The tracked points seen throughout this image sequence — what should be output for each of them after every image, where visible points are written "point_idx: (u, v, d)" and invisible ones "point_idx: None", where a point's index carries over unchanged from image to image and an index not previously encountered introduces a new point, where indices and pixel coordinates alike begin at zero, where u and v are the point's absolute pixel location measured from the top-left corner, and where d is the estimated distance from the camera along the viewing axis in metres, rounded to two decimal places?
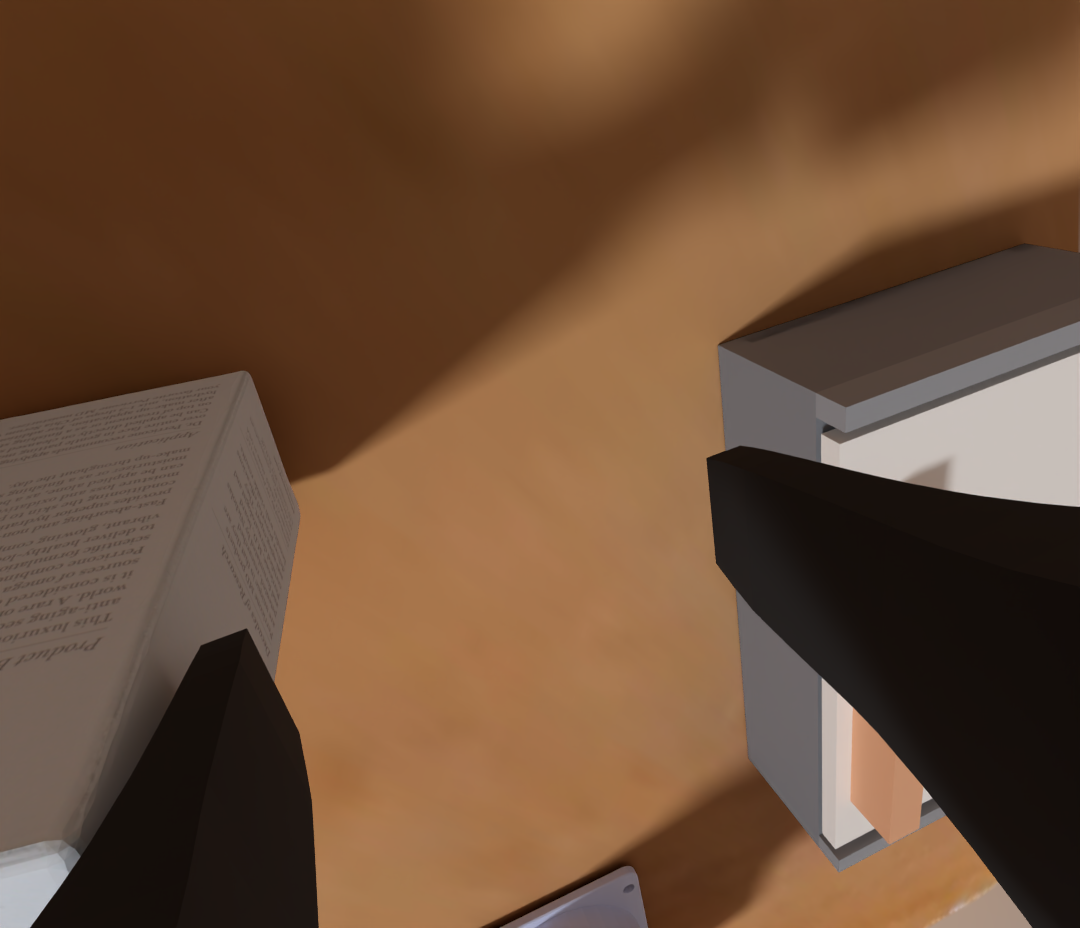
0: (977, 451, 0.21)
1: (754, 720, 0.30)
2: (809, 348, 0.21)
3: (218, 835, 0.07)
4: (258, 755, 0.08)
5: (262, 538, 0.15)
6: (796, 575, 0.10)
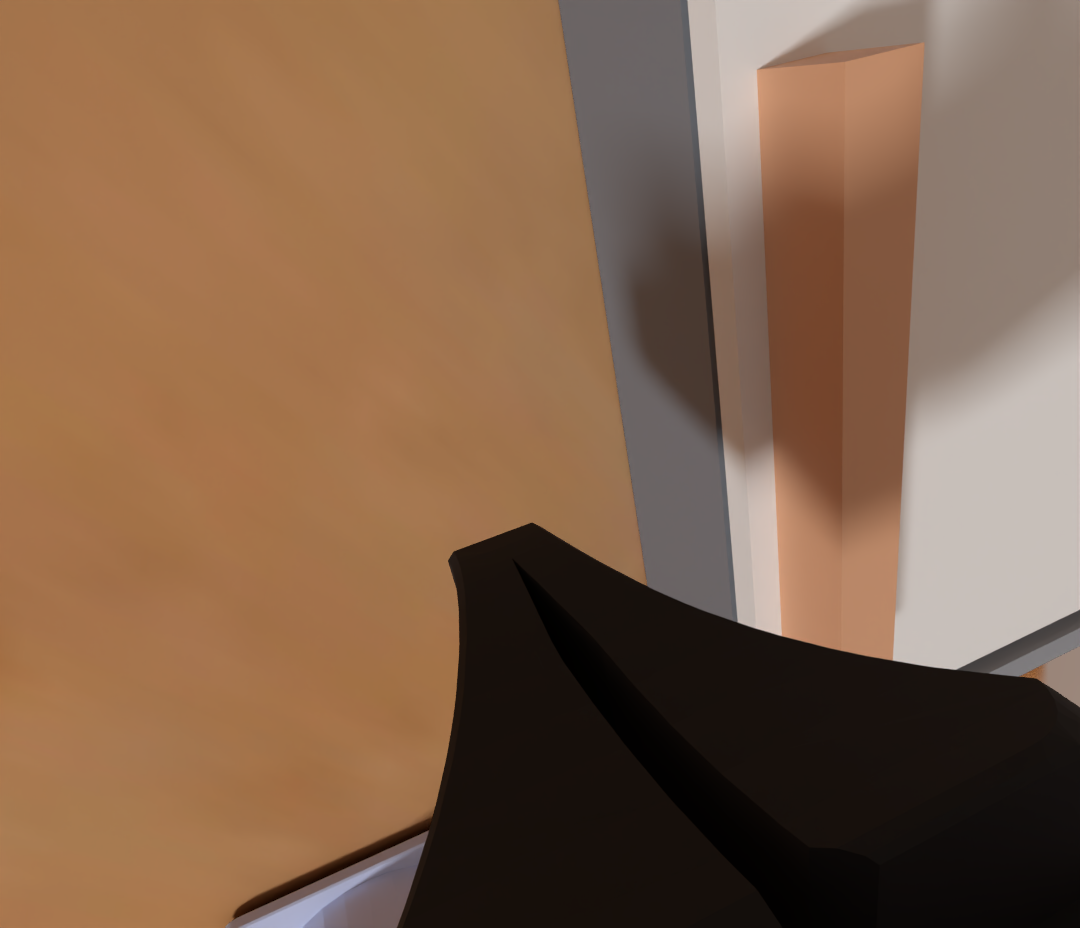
0: None
1: (657, 588, 0.20)
2: None
3: None
4: None
5: None
6: None
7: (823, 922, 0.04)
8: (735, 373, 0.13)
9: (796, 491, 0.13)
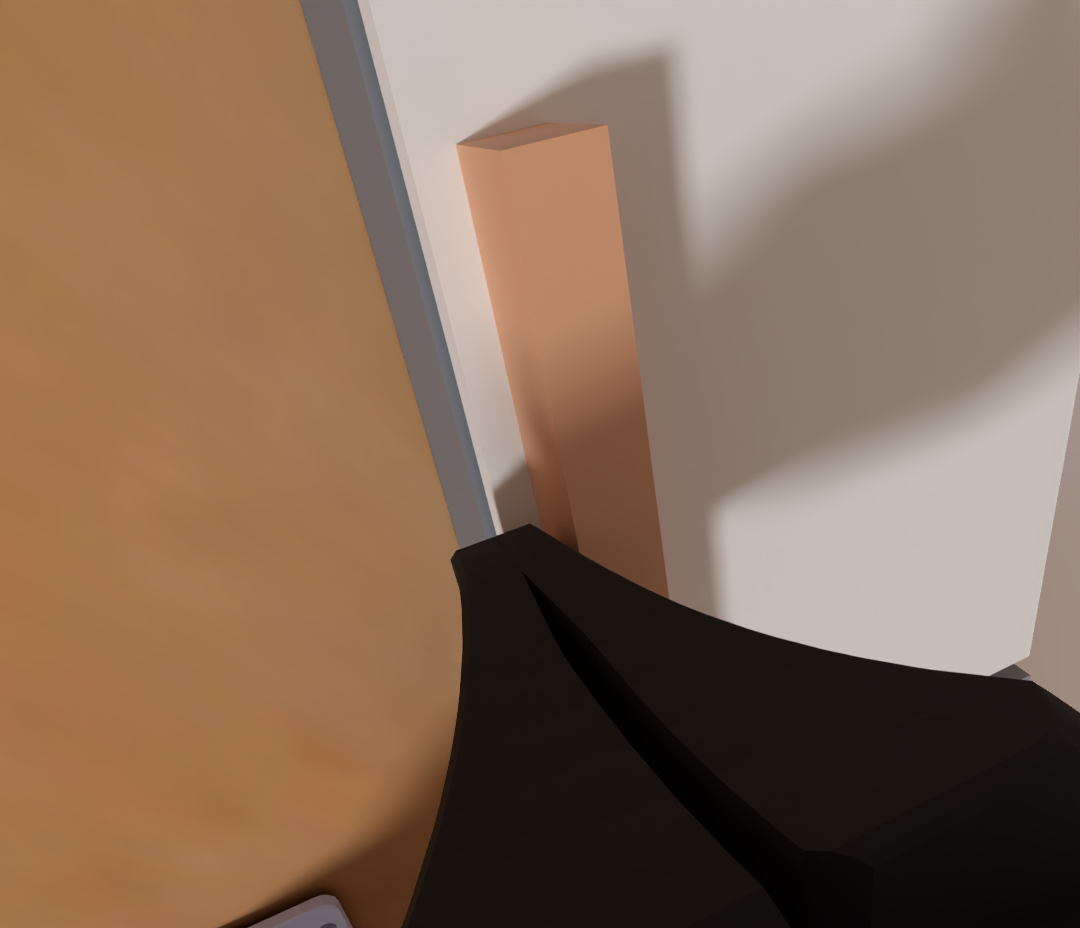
0: (737, 42, 0.10)
1: None
2: None
3: None
4: None
5: None
6: None
7: (818, 925, 0.04)
8: (488, 474, 0.11)
9: None
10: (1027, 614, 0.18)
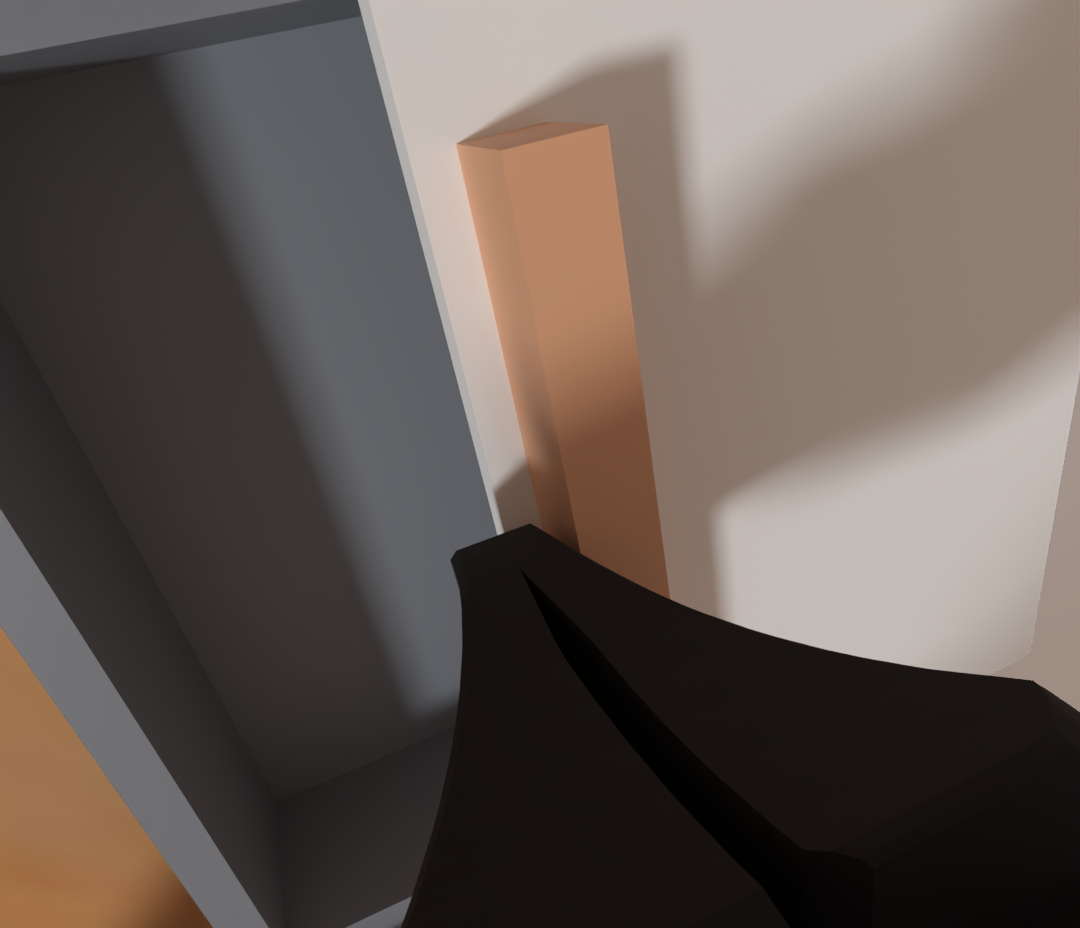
0: (737, 42, 0.10)
1: None
2: None
3: None
4: None
5: None
6: None
7: (819, 925, 0.04)
8: (489, 474, 0.11)
9: None
10: (1027, 614, 0.18)
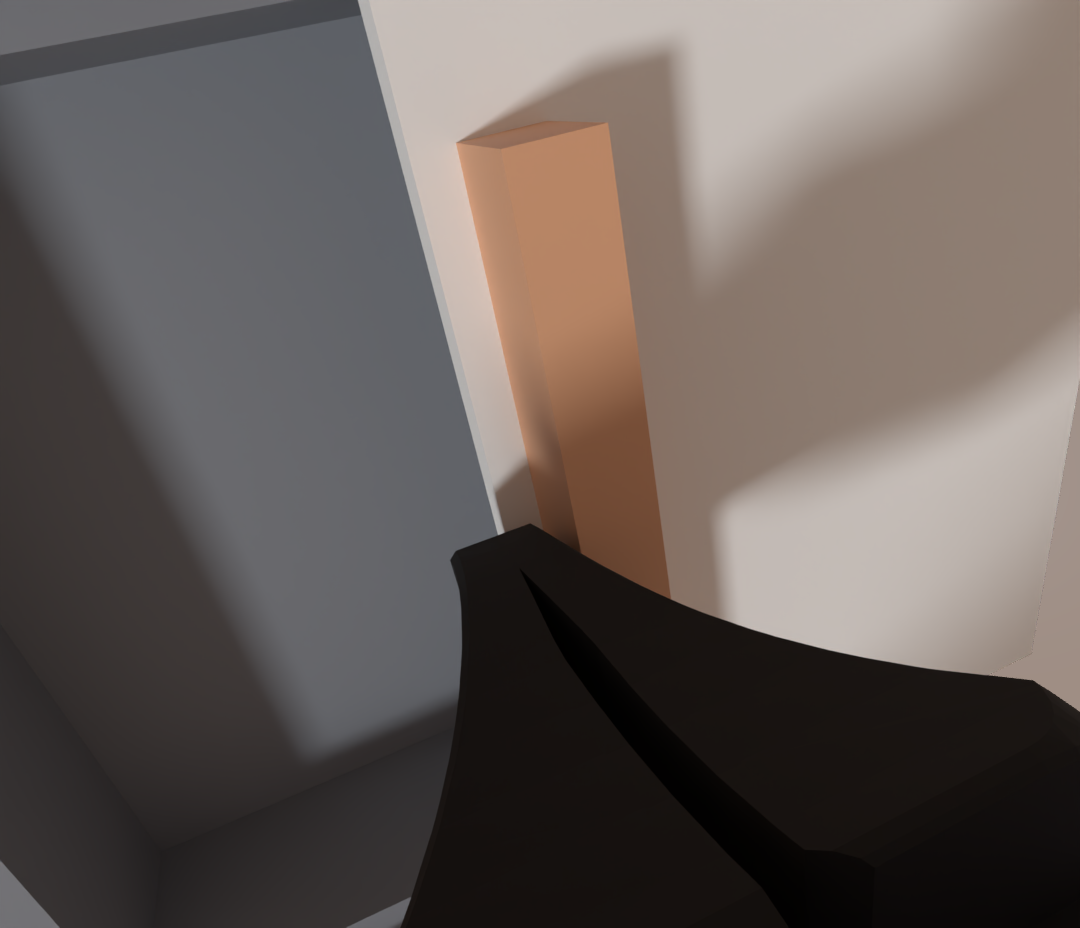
0: (738, 40, 0.10)
1: None
2: None
3: None
4: None
5: None
6: None
7: (818, 923, 0.04)
8: (489, 473, 0.11)
9: None
10: (1028, 612, 0.18)
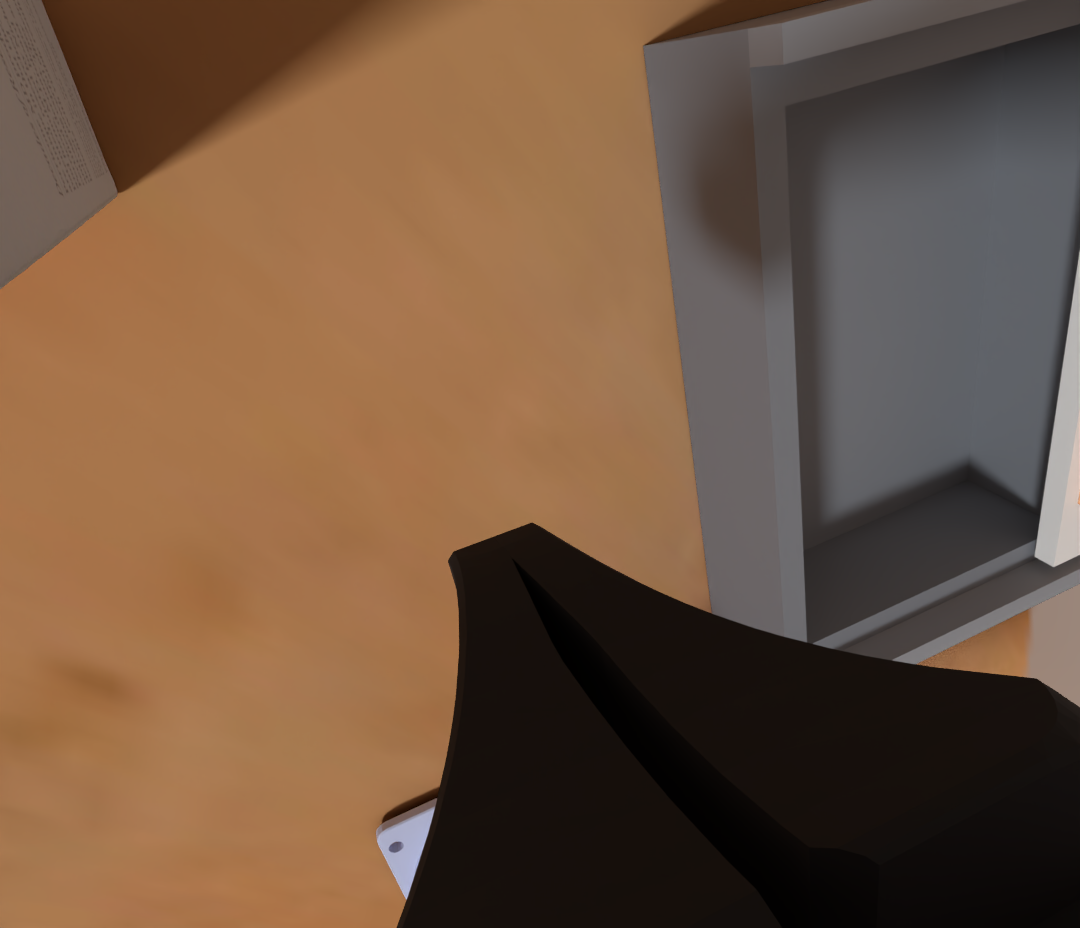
0: None
1: (714, 558, 0.26)
2: (749, 23, 0.17)
3: None
4: None
5: (53, 107, 0.12)
6: None
7: (823, 922, 0.04)
8: None
9: None
10: None
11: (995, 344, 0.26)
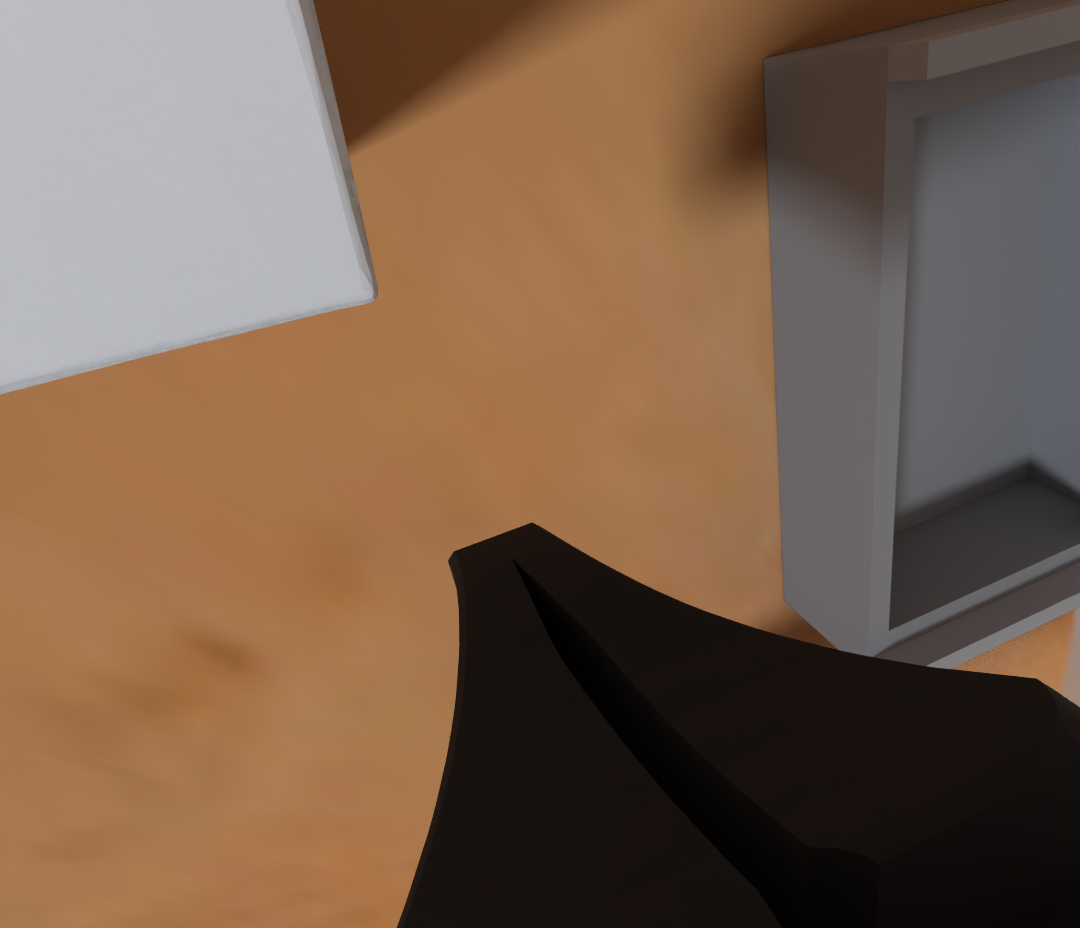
0: None
1: (792, 547, 0.27)
2: (872, 39, 0.18)
3: None
4: None
5: None
6: None
7: (822, 920, 0.04)
8: None
9: None
10: None
11: (1063, 347, 0.27)
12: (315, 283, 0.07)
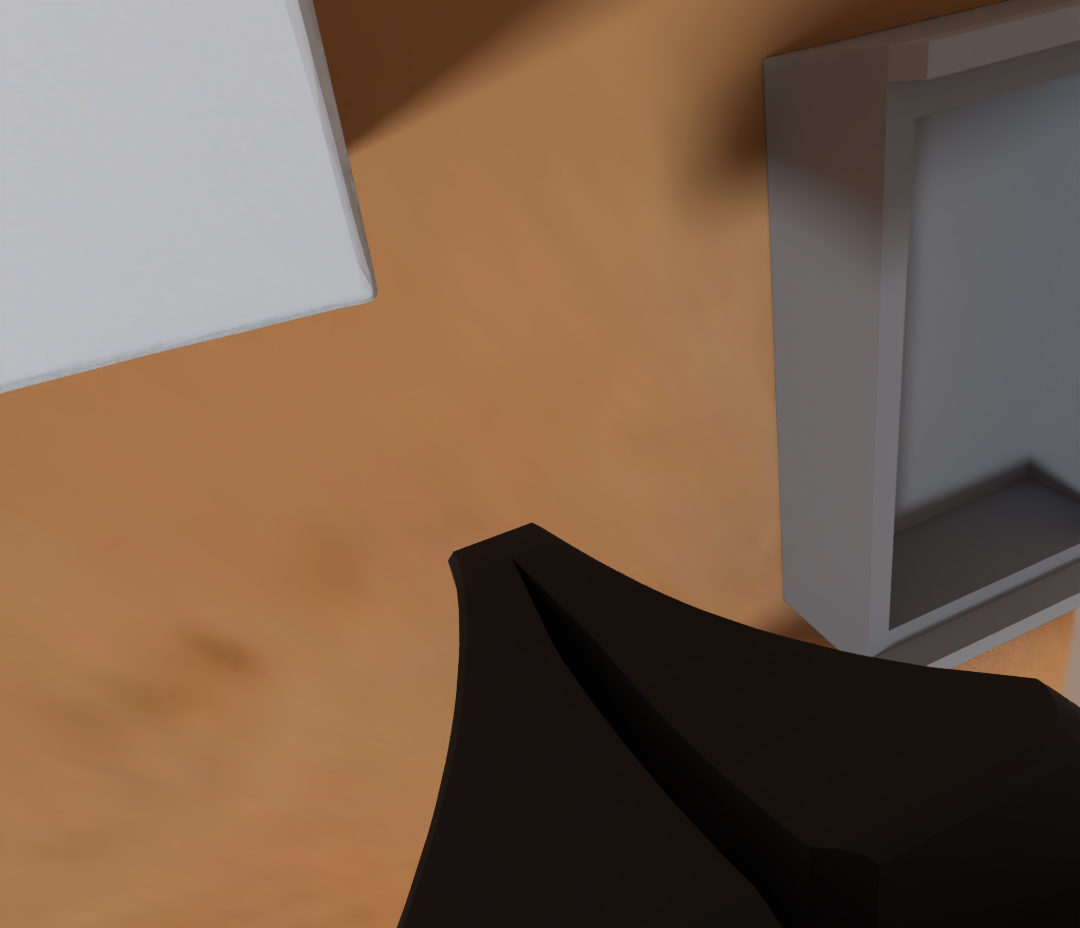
0: None
1: (792, 547, 0.27)
2: (872, 39, 0.18)
3: None
4: None
5: None
6: None
7: (822, 920, 0.04)
8: None
9: None
10: None
11: (1063, 347, 0.27)
12: (314, 282, 0.07)
